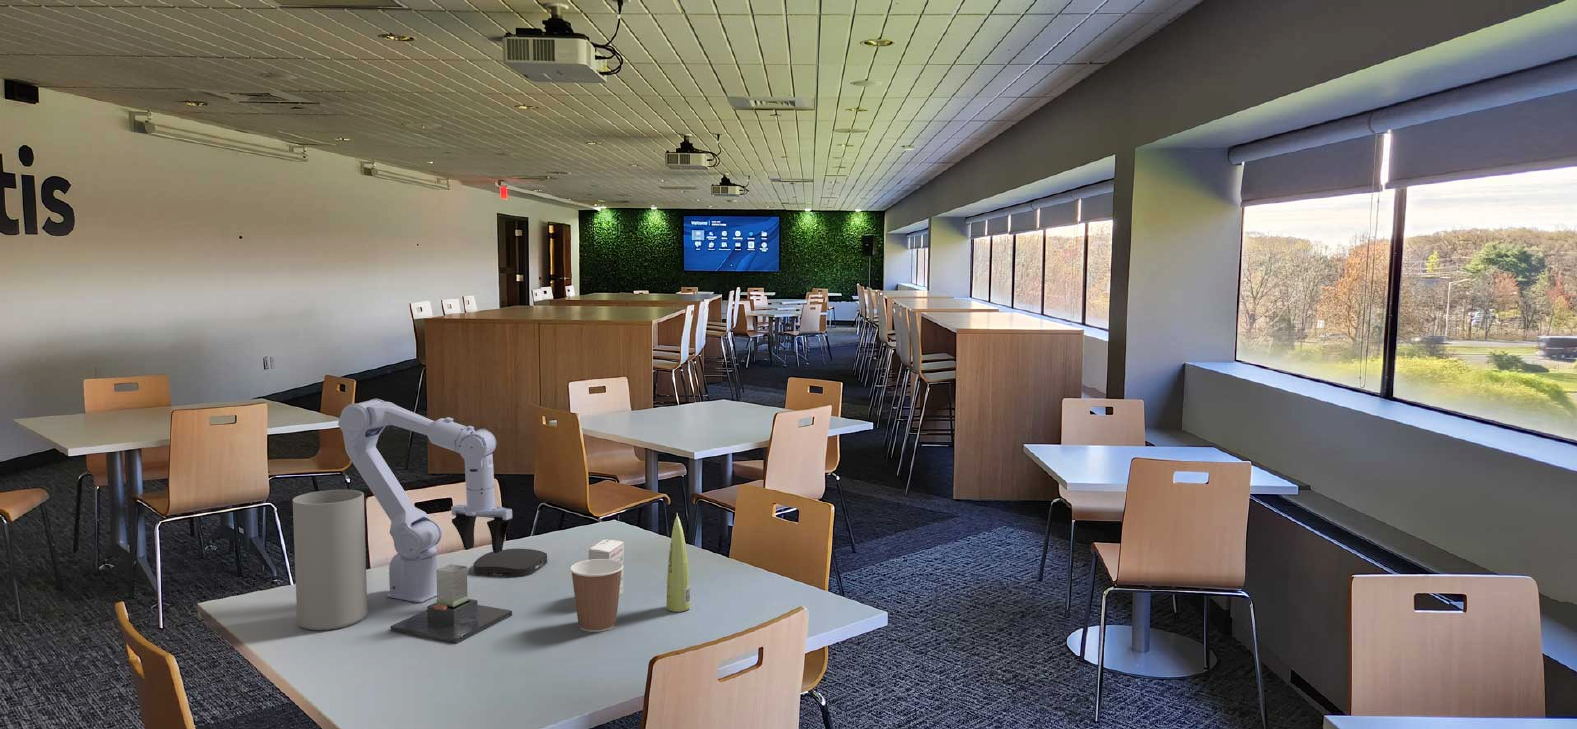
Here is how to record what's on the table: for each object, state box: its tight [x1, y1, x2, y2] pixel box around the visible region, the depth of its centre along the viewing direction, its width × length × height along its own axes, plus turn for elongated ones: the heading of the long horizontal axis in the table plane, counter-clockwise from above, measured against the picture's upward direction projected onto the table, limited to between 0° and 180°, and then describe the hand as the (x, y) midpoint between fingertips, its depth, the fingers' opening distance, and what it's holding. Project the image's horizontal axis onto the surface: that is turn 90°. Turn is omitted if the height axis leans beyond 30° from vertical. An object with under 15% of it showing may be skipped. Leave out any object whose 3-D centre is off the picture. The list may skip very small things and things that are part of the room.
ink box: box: [588, 539, 625, 597], centre depth 193 cm, size 9×5×12 cm, turn 168°
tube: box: [666, 512, 691, 613], centre depth 188 cm, size 6×5×20 cm
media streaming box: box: [473, 548, 548, 578], centre depth 215 cm, size 15×15×3 cm
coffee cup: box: [569, 559, 624, 633], centre depth 178 cm, size 10×10×12 cm
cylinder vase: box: [292, 489, 368, 631], centre depth 179 cm, size 12×12×25 cm
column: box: [435, 563, 469, 607], centre depth 178 cm, size 4×4×7 cm
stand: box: [390, 598, 513, 644], centre depth 179 cm, size 16×16×5 cm
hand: (483, 550), depth 193 cm, fingers open, 7 cm apart
